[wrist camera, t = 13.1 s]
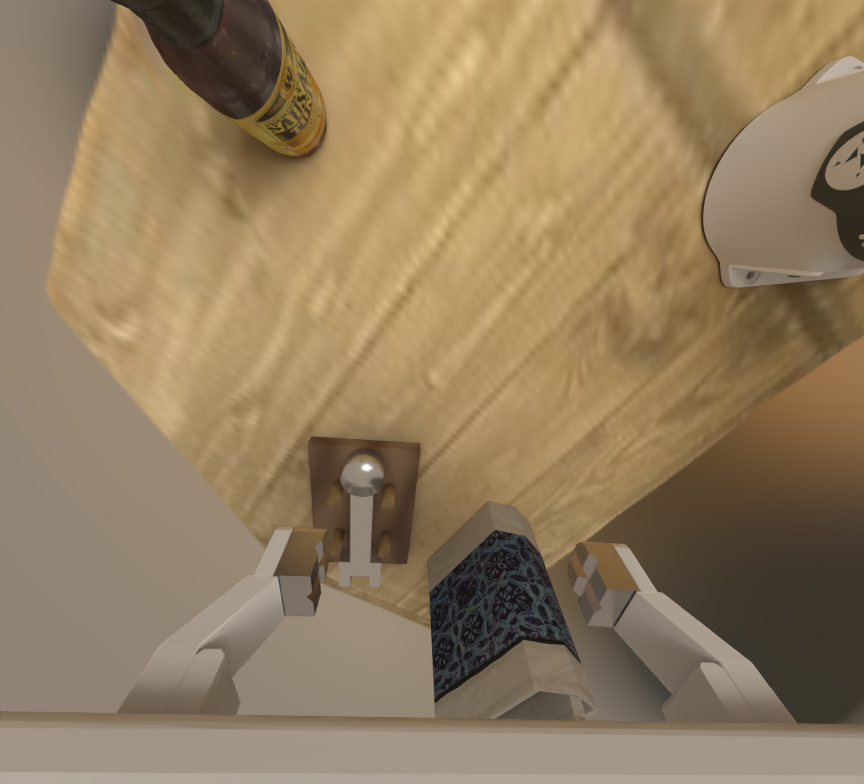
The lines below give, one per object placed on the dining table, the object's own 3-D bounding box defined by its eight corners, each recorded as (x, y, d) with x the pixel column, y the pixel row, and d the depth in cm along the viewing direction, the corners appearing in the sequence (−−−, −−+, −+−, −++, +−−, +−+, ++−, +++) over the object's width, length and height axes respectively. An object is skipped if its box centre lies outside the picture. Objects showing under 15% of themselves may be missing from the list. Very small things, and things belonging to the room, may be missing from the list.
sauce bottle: (320, 173, 30) (186, 93, 12) (248, 139, 29) (-18, -6, 11) (340, 87, 27) (208, -172, 10) (263, 45, 26) (-55, -344, 8)
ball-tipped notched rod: (341, 447, 42) (336, 462, 39) (389, 450, 42) (387, 465, 40) (342, 568, 52) (339, 586, 49) (381, 569, 52) (379, 587, 50)
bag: (462, 582, 57) (546, 1168, 22) (422, 564, 55) (440, 1199, 19) (535, 518, 51) (817, 1186, 16) (493, 495, 49) (716, 1233, 13)
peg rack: (420, 443, 44) (420, 468, 39) (406, 555, 53) (406, 585, 49) (311, 436, 42) (299, 461, 38) (318, 552, 52) (309, 583, 48)
